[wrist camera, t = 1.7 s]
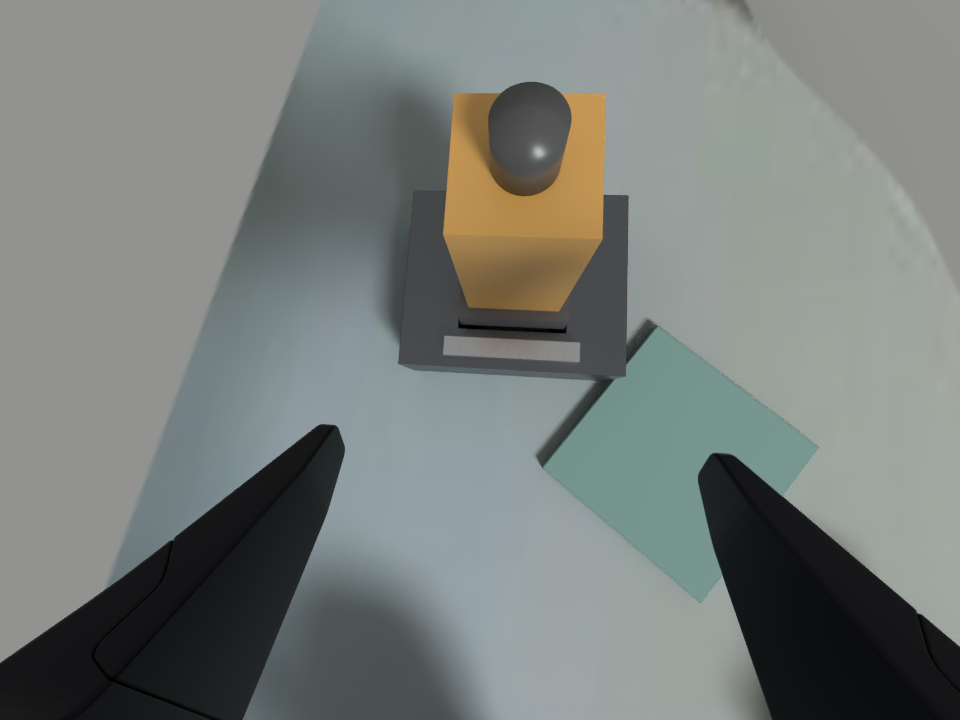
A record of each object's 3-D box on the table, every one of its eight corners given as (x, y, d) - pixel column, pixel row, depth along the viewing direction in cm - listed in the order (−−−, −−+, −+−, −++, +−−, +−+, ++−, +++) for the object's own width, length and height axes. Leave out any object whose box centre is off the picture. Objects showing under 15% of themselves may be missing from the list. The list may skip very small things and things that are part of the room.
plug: (553, 341, 23) (643, 228, 8) (468, 337, 23) (409, 222, 9) (556, 259, 23) (646, 19, 9) (473, 256, 24) (427, 21, 9)
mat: (694, 597, 20) (700, 603, 20) (541, 466, 22) (542, 468, 21) (810, 445, 21) (819, 447, 20) (654, 328, 22) (658, 325, 22)
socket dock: (606, 381, 22) (629, 375, 18) (414, 369, 23) (394, 362, 19) (609, 226, 23) (632, 189, 19) (426, 221, 24) (411, 184, 20)
